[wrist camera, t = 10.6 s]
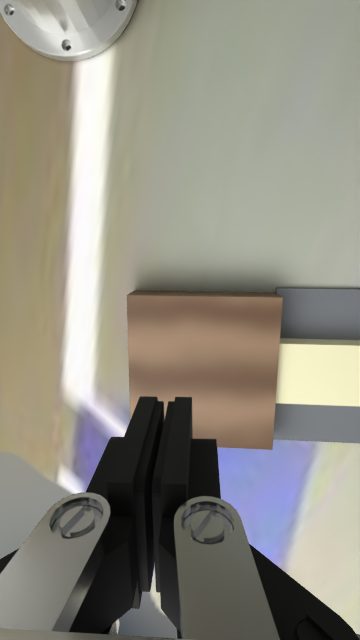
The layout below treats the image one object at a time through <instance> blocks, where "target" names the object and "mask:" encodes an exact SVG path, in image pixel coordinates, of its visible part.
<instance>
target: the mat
mask: <svg viewBox="0 0 360 640" xmlns="http://www.w3.org/2000/svg"><path fill="white" fill-rule="evenodd" d="M276 293H277V294H278V295H280V296H281V297H283V302H282V316H281V331H280V338H293V339H332V340H360V289H314V288H276ZM273 439H276V440H298V441H321V442H343V443H360V407H359V406H333V405H307V404H282V403H275V418H274V433H273Z"/></svg>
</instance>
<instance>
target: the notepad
mask: <svg viewBox="0 0 360 640" xmlns="http://www.w3.org/2000/svg"><path fill="white" fill-rule="evenodd" d="M276 403H282V404H307V405H333V406H359V407H360V340H332V339H293V338H280V345H279V360H278V374H277V389H276Z"/></svg>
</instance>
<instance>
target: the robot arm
mask: <svg viewBox="0 0 360 640" xmlns="http://www.w3.org/2000/svg"><path fill="white" fill-rule="evenodd" d="M136 3H137V0H0V12H1V14H2V16H3V18H4V20H5V21H6V23H7V24H8V25H9V27H10V28H11V29H12V30H13V32H14V33H15V34H16V35H17V36H18V37H19V38H20V39H21V40H22V41H23V42H24V43H25V44H26V45H27V46H29V47H30V48H31V49H32V50H34V51H35V52H37V53H39V54H41V55H43V56H45V57H47V58H51V59H55V60H59V61H79V60H84V59H88V58H90V57H92V56H95V55H97V54H99V53H101V52H102V51H104V50H105V49H106V48H108V47H109V46H111V45H112V44H113V43H114V42H115V40H116V39H117V38H118V37H119V36H120V35H121V34H122V32H123V31H124V29H125V28H126V26H127V24H128V23H129V21H130V19H131V17H132V14H133V12H134V9H135V7H136ZM122 9H124V10H122ZM121 10H122V11H121ZM70 48H71V49H70ZM69 49H70V50H69ZM68 50H69V51H68ZM154 562H155V576H156V592H160V595H161V609H162V610H163V612H164V613H165V614H166V615H167V617H168V618H169V619H170V620H171V622H172V623H173V624H174V625H175V627H176V629H177V639H174V638H158V637H141V636H124V635H117V633H118V628H119V618H120V617H121V616H122V615H124V614H125V613H126V612H127V611H128V610H130V609H131V608H135V609H136V608H137V609H139V607H140V602H141V596H142V591H145V592H150V589H151V583H152V576H153V569H154ZM0 640H360V635H359V634H356V633H355V632H354V630H353V629H352V628H351V627H350V626H349V625H348V624H347V623H346V622H345V621H344V620H343V619H342V618H341V617H340V616H339V615H338V614H336V613H335V612H334V611H333V610H331V609H330V608H329V607H328V606H326V605H325V604H324V603H323V602H321V601H320V600H319V599H318V598H316V597H315V596H314V595H313V594H311V593H310V592H309V591H308V590H306V589H305V588H304V587H303V586H301V585H300V584H299V583H298V582H296V581H295V580H294V579H293V578H291V577H290V576H289V575H288V574H286V573H285V572H284V571H283V570H281V569H280V568H279V567H278V566H276V565H275V564H274V563H273V562H271V561H270V560H269V559H268V558H266V557H265V556H264V555H263V554H261V553H260V552H259V551H258V550H256V549H255V548H254V547H253V546H251V545H250V544H249V542H248V539H247V536H246V533H245V530H244V527H243V524H242V521H241V518H240V516H239V514H238V512H237V510H236V509H235V508H234V507H233V506H232V505H231V504H229V503H227V502H226V501H224V500H222V499H221V496H220V482H219V468H218V454H217V440H216V439H194V438H193V429H192V397H175V400H174V401H168V406H167V411H166V415H165V420H164V402H163V401H158V398H157V397H149V396H140V397H139V400H138V402H137V405H136V408H135V410H134V413H133V415H132V418H131V420H130V423H129V426H128V428H127V431H126V433H125V436H124V437H111V438H110V440H109V442H108V444H107V446H106V449H105V451H104V453H103V455H102V457H101V460H100V462H99V464H98V466H97V468H96V471H95V473H94V475H93V477H92V480H91V482H90V484H89V486H88V488H87V491H86V493H78V494H73V495H70V496H68V497H65V498H63V499H62V500H60V501H58V502H57V503H56V504H54V505H53V506H52V507H51V508H50V509H49V510H48V511H47V513H46V514H45V515H44V517H43V518H42V519H41V521H40V522H39V523H38V525H37V526H36V527H35V529H34V530H33V531H32V533H31V534H30V535H29V537H28V538H27V539H26V541H25V542H24V543H23V545H22V546H21V547H20V548H19V549H17V550H16V551H14V552H12V553H11V554H9V555H7V556H5V557H3V558H2V559H0Z"/></svg>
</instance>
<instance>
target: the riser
mask: <svg viewBox="0 0 360 640" xmlns="http://www.w3.org/2000/svg"><path fill="white" fill-rule="evenodd" d="M282 302H283V297H281V296H280V295H278V294H277V293H232V292H163V291H133V292H131V293H130V294H128V295H127V318H128V353H129V388H130V420H131V418H132V415H133V413H134V410H135V408H136V405H137V402H138V400H139V397H140V396H149V397H157V398H158V401H163V402H164V420H165V415H166V411H167V406H168V401H174V400H175V397H192V429H193V438H194V439H216V440H217V447H226V448H247V449H269V450H272V447H273V433H274V418H275V403H276V389H277V374H278V360H279V345H280V331H281V316H282Z"/></svg>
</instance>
